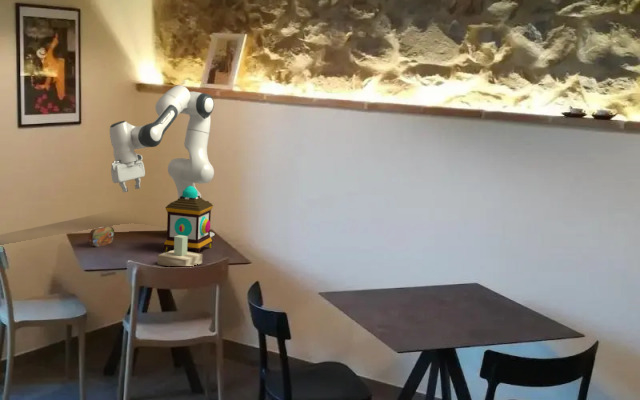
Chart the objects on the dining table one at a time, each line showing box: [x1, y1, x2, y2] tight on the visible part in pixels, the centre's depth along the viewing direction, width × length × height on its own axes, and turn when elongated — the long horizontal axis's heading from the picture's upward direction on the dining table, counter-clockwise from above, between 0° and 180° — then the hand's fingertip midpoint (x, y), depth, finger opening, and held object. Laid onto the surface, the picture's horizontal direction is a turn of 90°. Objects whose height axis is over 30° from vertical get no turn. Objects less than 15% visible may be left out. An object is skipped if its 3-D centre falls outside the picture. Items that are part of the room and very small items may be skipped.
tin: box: [88, 225, 116, 248], centre depth 356 cm, size 15×3×8 cm, turn 154°
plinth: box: [157, 249, 204, 267], centre depth 332 cm, size 13×14×4 cm
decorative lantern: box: [163, 186, 214, 254], centre depth 355 cm, size 20×20×30 cm
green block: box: [173, 235, 188, 256], centre depth 331 cm, size 4×4×8 cm
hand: (131, 190), depth 335 cm, fingers open, 8 cm apart
